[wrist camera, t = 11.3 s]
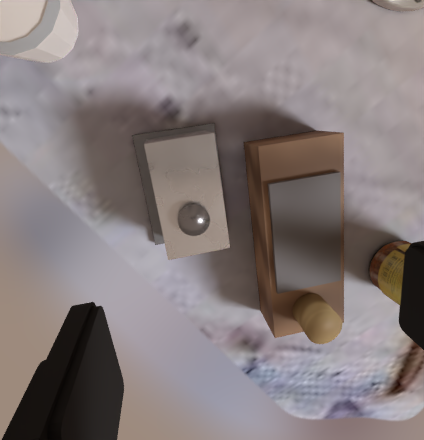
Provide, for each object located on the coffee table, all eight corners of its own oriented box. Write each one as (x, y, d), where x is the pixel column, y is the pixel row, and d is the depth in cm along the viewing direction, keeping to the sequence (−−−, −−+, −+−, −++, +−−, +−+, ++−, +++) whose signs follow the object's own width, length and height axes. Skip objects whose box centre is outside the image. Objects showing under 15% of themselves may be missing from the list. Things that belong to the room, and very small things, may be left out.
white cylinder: (4, 76, 24) (-53, 61, 18) (-28, -31, 22) (-108, -95, 15) (96, 67, 25) (74, 48, 18) (74, -38, 23) (39, -102, 16)
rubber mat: (132, 135, 27) (132, 135, 26) (213, 123, 28) (214, 123, 27) (155, 242, 30) (155, 244, 30) (227, 229, 31) (228, 231, 30)
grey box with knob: (146, 139, 27) (143, 144, 21) (204, 130, 27) (215, 133, 22) (166, 237, 30) (168, 263, 24) (219, 227, 30) (231, 250, 25)
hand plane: (243, 142, 28) (271, 150, 21) (317, 130, 29) (367, 134, 22) (260, 310, 34) (286, 360, 27) (321, 297, 35) (362, 343, 28)
